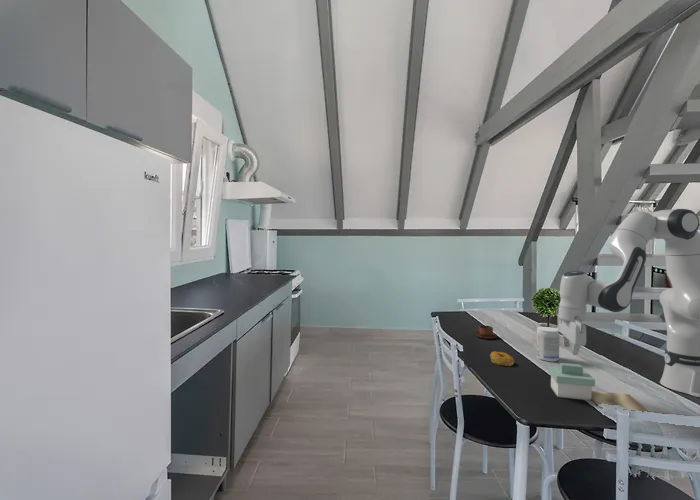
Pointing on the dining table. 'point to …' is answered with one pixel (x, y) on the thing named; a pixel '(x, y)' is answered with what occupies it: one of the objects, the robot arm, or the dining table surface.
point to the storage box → (571, 390)
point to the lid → (571, 375)
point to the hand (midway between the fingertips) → (570, 350)
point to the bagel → (501, 359)
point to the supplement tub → (548, 343)
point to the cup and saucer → (486, 332)
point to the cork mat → (617, 400)
